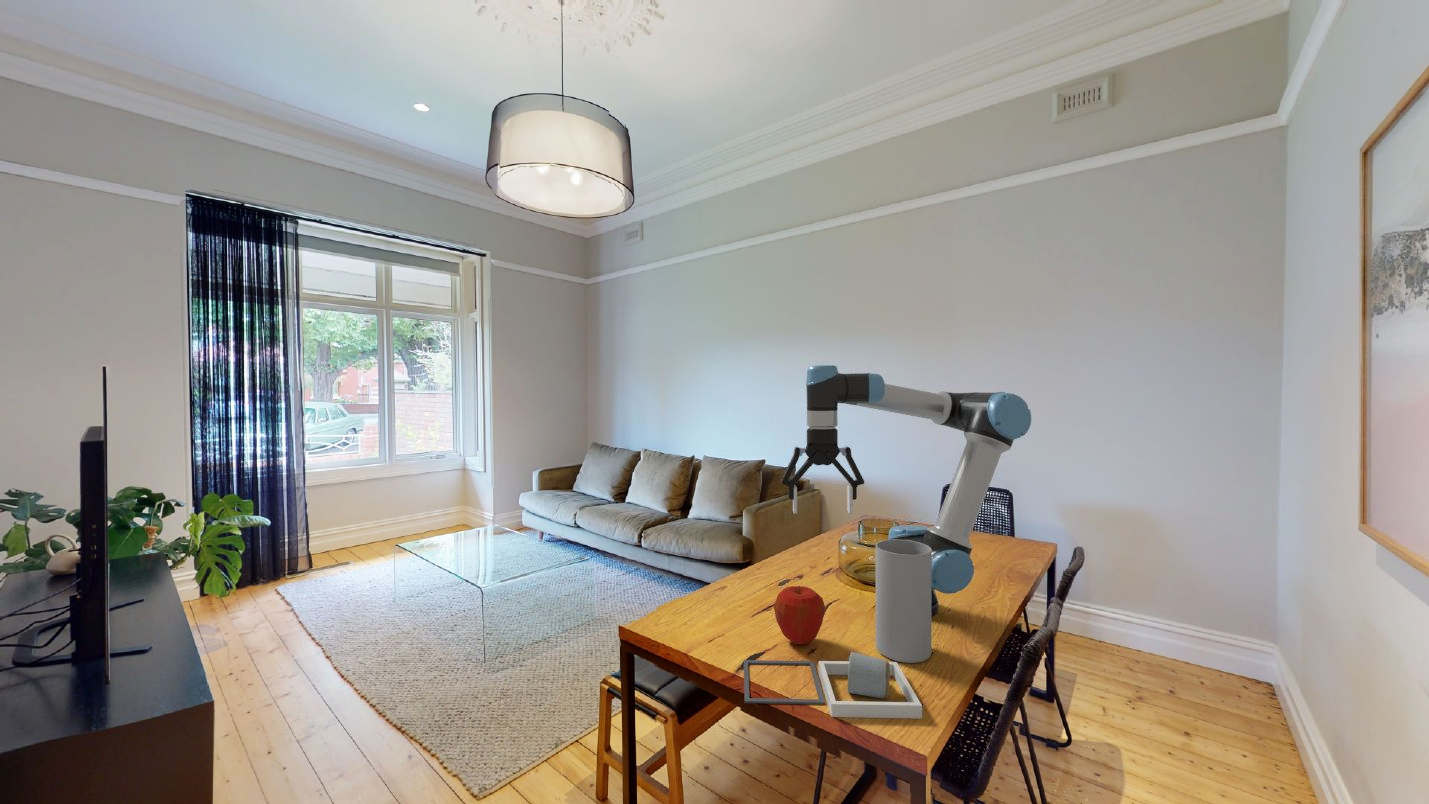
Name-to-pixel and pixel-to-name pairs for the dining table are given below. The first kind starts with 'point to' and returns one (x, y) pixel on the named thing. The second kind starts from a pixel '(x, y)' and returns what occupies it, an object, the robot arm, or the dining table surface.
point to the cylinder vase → (903, 600)
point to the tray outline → (782, 701)
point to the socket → (869, 708)
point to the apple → (799, 613)
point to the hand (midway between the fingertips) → (822, 512)
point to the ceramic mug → (868, 676)
